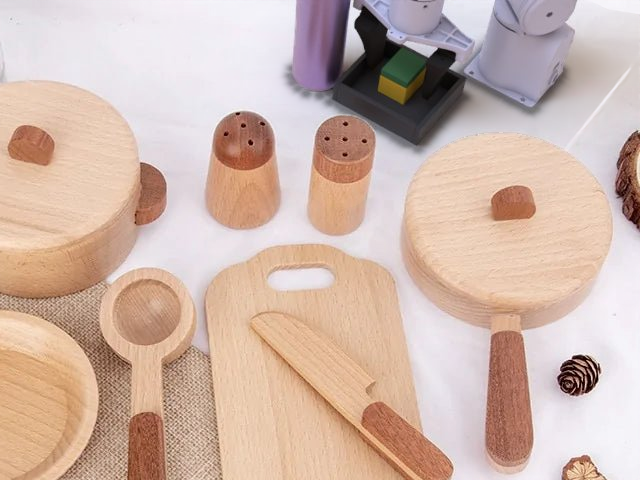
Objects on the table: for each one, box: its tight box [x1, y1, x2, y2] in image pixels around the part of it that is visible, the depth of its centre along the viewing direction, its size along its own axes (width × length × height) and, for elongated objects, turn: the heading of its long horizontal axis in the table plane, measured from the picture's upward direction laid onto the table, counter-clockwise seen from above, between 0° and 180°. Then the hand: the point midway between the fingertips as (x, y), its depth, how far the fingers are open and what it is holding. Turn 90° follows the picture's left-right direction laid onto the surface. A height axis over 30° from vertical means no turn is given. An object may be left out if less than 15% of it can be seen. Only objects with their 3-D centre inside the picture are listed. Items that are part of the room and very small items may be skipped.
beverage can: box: [291, 0, 352, 92], centre depth 122 cm, size 6×6×15 cm
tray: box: [331, 36, 468, 146], centre depth 126 cm, size 12×10×3 cm
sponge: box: [378, 48, 426, 104], centre depth 126 cm, size 4×4×4 cm
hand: (401, 79), depth 127 cm, fingers open, 7 cm apart
